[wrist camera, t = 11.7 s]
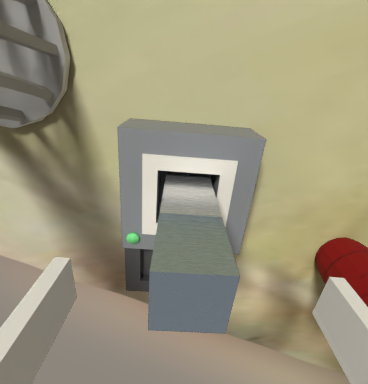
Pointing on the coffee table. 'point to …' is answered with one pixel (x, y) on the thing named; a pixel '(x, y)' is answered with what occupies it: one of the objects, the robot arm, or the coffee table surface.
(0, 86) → the grey tall lattice tower
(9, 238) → the coffee table surface
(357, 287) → the plastic cup
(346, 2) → the coffee table surface
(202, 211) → the plug
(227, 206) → the port
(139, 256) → the dark grey slot tray
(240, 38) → the coffee table surface
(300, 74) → the coffee table surface
